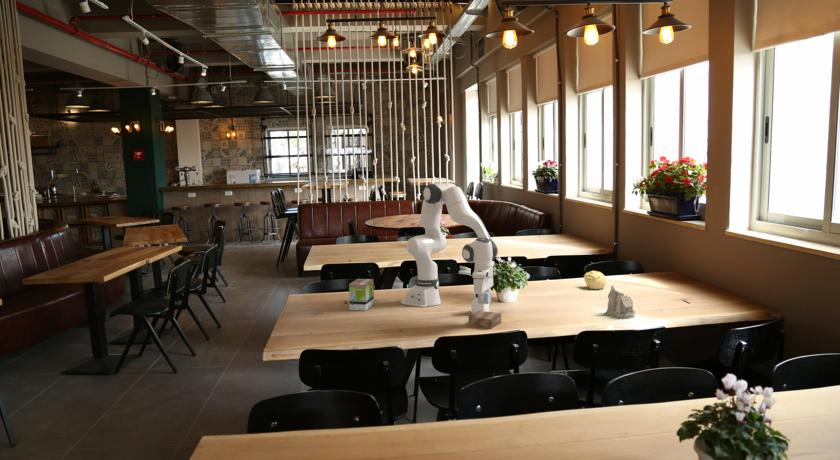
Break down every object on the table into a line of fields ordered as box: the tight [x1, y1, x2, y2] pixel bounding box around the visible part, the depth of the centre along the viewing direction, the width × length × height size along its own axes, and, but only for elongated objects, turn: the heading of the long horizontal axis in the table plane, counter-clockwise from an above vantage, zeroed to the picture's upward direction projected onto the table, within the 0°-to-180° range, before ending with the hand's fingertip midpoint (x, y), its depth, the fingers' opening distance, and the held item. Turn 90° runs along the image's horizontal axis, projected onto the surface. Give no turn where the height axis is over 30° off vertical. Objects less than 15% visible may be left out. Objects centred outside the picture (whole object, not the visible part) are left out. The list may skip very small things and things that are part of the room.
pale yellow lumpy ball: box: [583, 270, 607, 290], centre depth 367 cm, size 12×12×11 cm
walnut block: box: [468, 311, 502, 330], centre depth 298 cm, size 12×12×5 cm
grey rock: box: [606, 285, 636, 320], centre depth 309 cm, size 16×16×15 cm
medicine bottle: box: [470, 291, 490, 315], centre depth 319 cm, size 7×7×12 cm
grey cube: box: [478, 291, 492, 305], centre depth 297 cm, size 5×5×5 cm
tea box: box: [348, 278, 375, 312], centre depth 337 cm, size 15×10×15 cm
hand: (484, 299), depth 297 cm, fingers closed on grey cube, 5 cm apart
